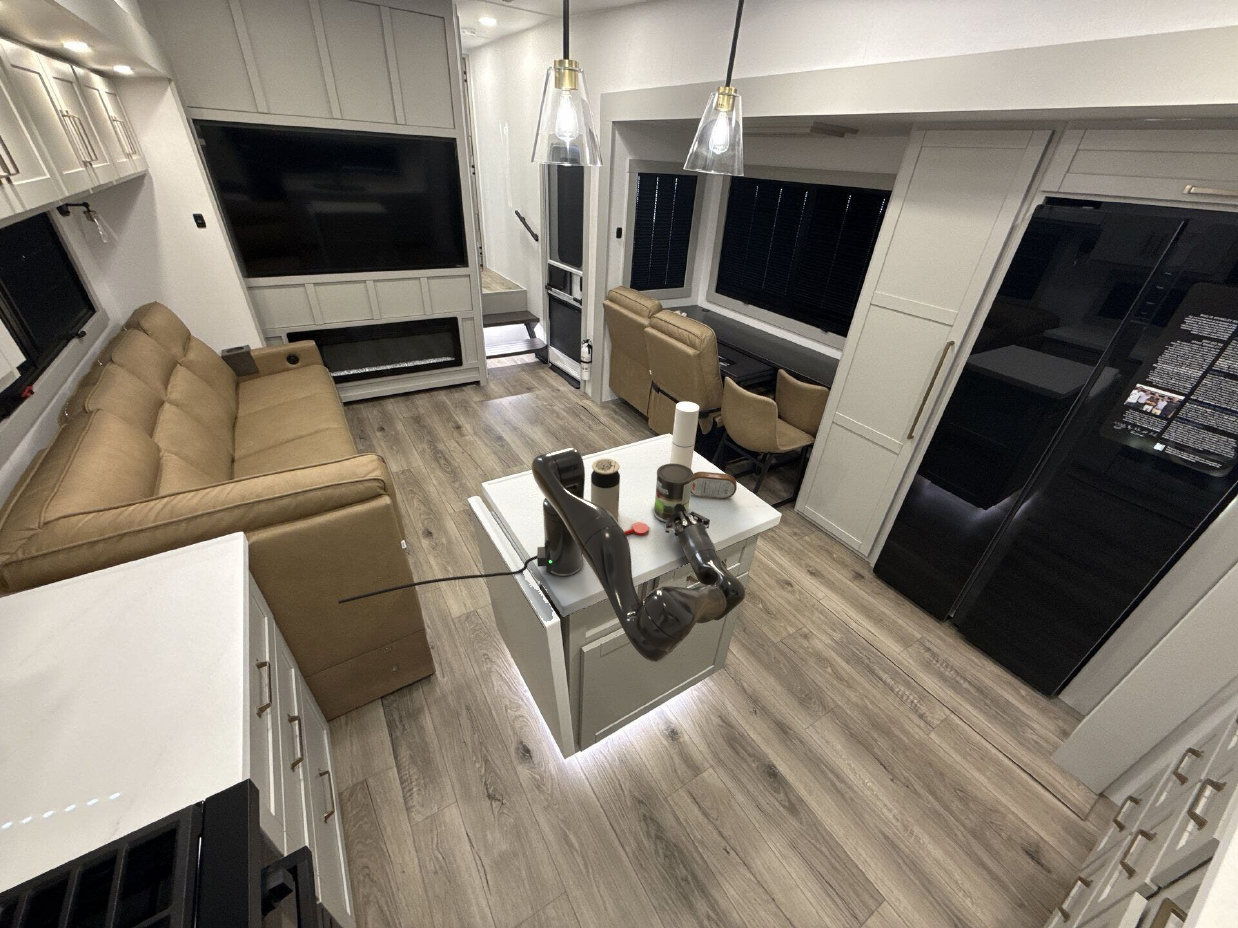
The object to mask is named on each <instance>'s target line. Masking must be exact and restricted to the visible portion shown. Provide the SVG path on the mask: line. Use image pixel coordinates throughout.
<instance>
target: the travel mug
mask: <svg viewBox="0 0 1238 928" xmlns="http://www.w3.org/2000/svg"><path fill="white" fill-rule="evenodd" d="M620 467H621V466H620V464H619V462H618V461H617V460H614V459H612V458H599V459H596V460H595V461H593V462H592V464H591V469H592V470H593V471H592V472H591V474H590V502H592V503H594V504H596V505H598V506H600V507H602V508H604V509H606V510H607V511H608V512H610V513H611V514H612V516H613V517H614V518H615V520H616V521H617V522H618V519H619V511H620V509H619V508H620V507H619V506H620V486H621V485H620V484H621V474H620V471H619V470H620Z"/></svg>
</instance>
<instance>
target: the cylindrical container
mask: <svg viewBox="0 0 1238 928" xmlns="http://www.w3.org/2000/svg"><path fill="white" fill-rule="evenodd" d="M674 411H675V412H674V421H673V428H672V429H673V430H672V438H671V447H670V448H671V449H670V455H669V456H670V457H669V464H680V465H684V466H686V467H688V468H690V469H691V470H692V465H693V458H694V449H695V443H696V437H697V436H696V435H697V428H698V420H699V413H700V405H698V404H697V403H695V402H692V401H679V402H678V403H676V405H675V410H674Z"/></svg>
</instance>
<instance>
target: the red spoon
mask: <svg viewBox="0 0 1238 928" xmlns="http://www.w3.org/2000/svg"><path fill="white" fill-rule="evenodd" d="M623 531H624V532H625V534H626V536H628V535H630V534H634V535H637V536H645V535H646V534H648V532H649V526H648V525H647V524H646V523H645V522H636V523H634V524H632V526H631V528H630V529H627V530H623Z"/></svg>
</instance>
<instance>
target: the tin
mask: <svg viewBox="0 0 1238 928" xmlns="http://www.w3.org/2000/svg"><path fill="white" fill-rule="evenodd" d="M737 485H738V484H737V480H736V479H735V477H734V476H733V475H731V474H728V473H721V472H711V471H695V472H693V479H692V486H691V494H690V495H693V496H694V497H698V498H708V499H718V500H726V499H730V498H732V497H733V496H734V495H735V494H736V491H737V489H738V488H737V487H738V486H737Z"/></svg>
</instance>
